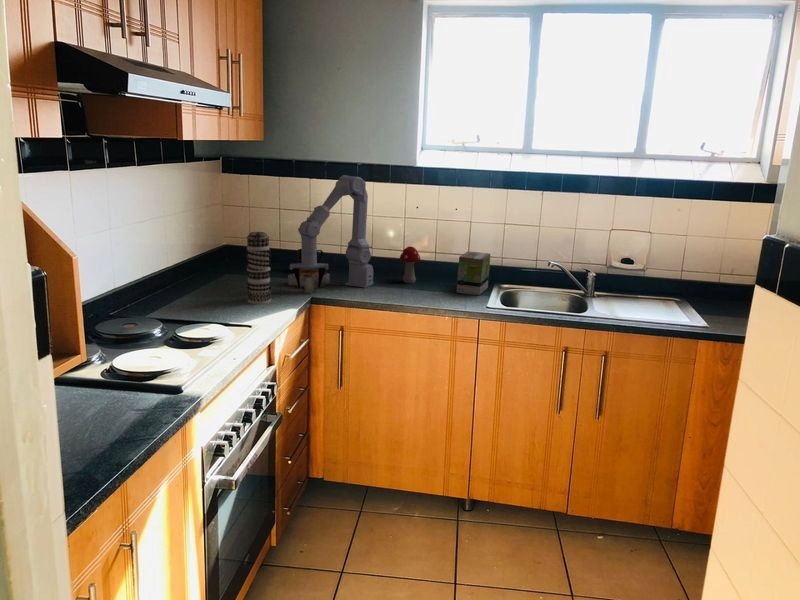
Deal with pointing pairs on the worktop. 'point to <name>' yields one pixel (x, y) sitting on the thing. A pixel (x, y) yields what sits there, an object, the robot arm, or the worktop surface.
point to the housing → (303, 272)
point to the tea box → (473, 273)
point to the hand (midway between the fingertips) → (309, 287)
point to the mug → (301, 256)
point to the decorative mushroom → (409, 263)
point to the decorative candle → (258, 268)
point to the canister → (309, 283)
